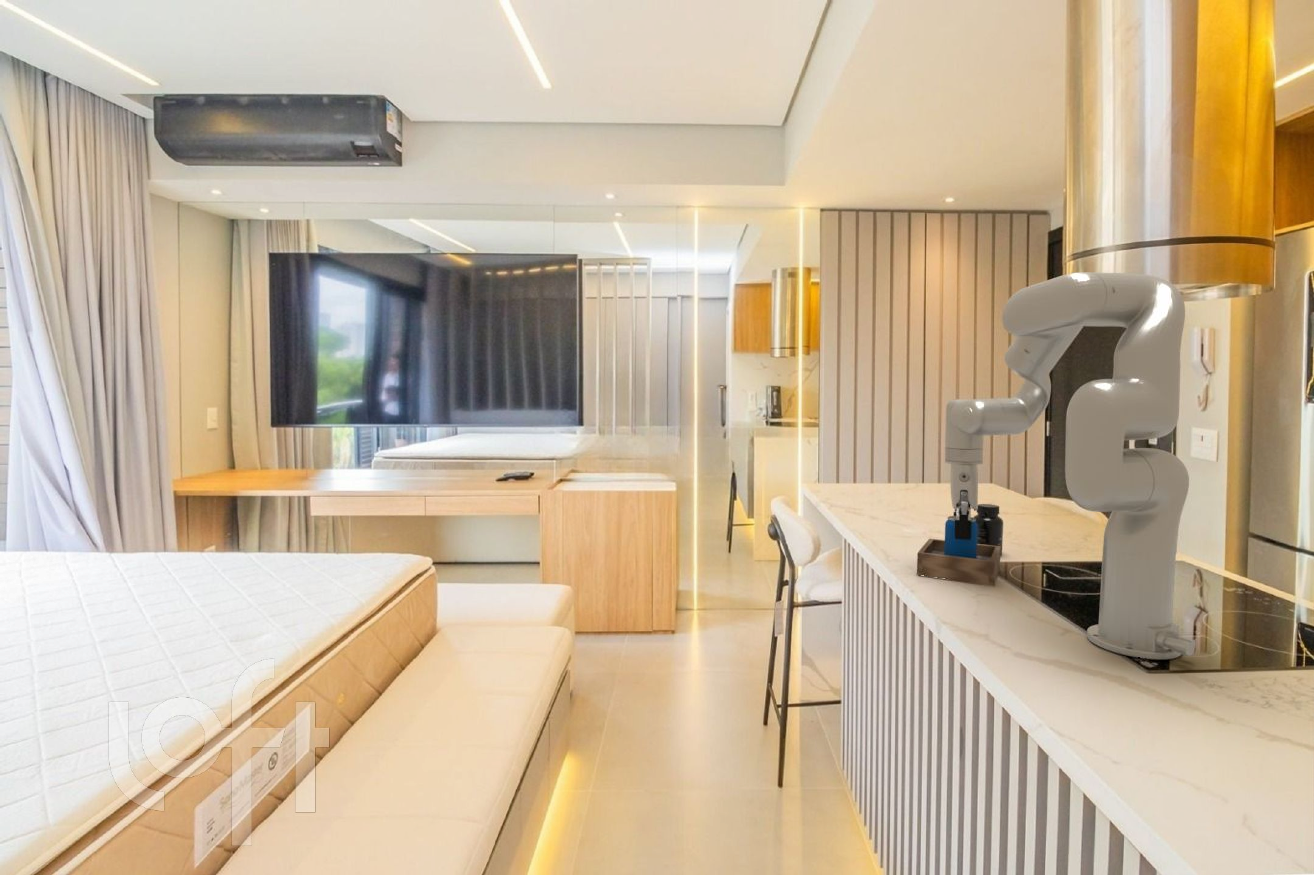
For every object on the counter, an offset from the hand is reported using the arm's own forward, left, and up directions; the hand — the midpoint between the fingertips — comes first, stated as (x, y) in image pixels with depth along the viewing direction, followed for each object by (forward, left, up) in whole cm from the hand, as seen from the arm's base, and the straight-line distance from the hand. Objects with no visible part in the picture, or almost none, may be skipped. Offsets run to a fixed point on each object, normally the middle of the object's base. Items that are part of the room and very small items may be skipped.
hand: (961, 534), depth 151 cm
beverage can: (0, 0, -9) cm, 9 cm away
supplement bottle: (+9, -17, -9) cm, 21 cm away
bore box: (0, 0, -9) cm, 9 cm away
